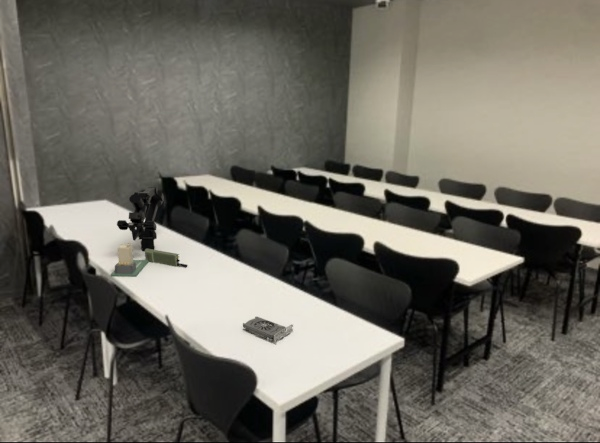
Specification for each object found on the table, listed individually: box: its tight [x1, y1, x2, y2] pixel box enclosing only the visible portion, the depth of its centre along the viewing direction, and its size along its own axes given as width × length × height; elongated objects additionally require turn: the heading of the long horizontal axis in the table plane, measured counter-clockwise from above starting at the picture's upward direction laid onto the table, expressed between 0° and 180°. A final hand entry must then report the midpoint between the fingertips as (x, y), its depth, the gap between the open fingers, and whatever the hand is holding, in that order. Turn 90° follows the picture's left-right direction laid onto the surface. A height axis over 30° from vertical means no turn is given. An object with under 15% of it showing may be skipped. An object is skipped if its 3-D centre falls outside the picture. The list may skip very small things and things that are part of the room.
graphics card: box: [242, 316, 294, 345], centre depth 171 cm, size 17×4×12 cm
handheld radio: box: [144, 249, 188, 268], centre depth 234 cm, size 7×3×25 cm
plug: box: [117, 242, 134, 265], centre depth 220 cm, size 5×5×13 cm
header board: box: [110, 259, 149, 278], centre depth 226 cm, size 20×12×6 cm, turn 1°
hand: (133, 240), depth 231 cm, fingers closed
